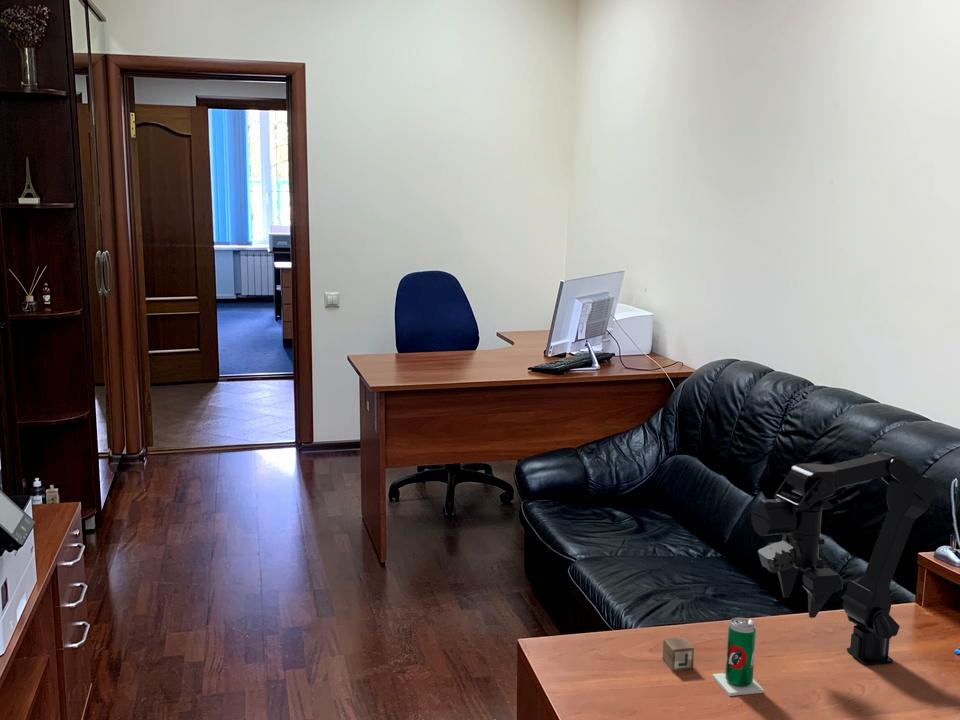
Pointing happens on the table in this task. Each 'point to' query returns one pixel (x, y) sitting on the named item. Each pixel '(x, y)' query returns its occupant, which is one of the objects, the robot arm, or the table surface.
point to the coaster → (736, 690)
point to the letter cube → (678, 653)
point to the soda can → (740, 652)
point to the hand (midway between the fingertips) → (798, 607)
